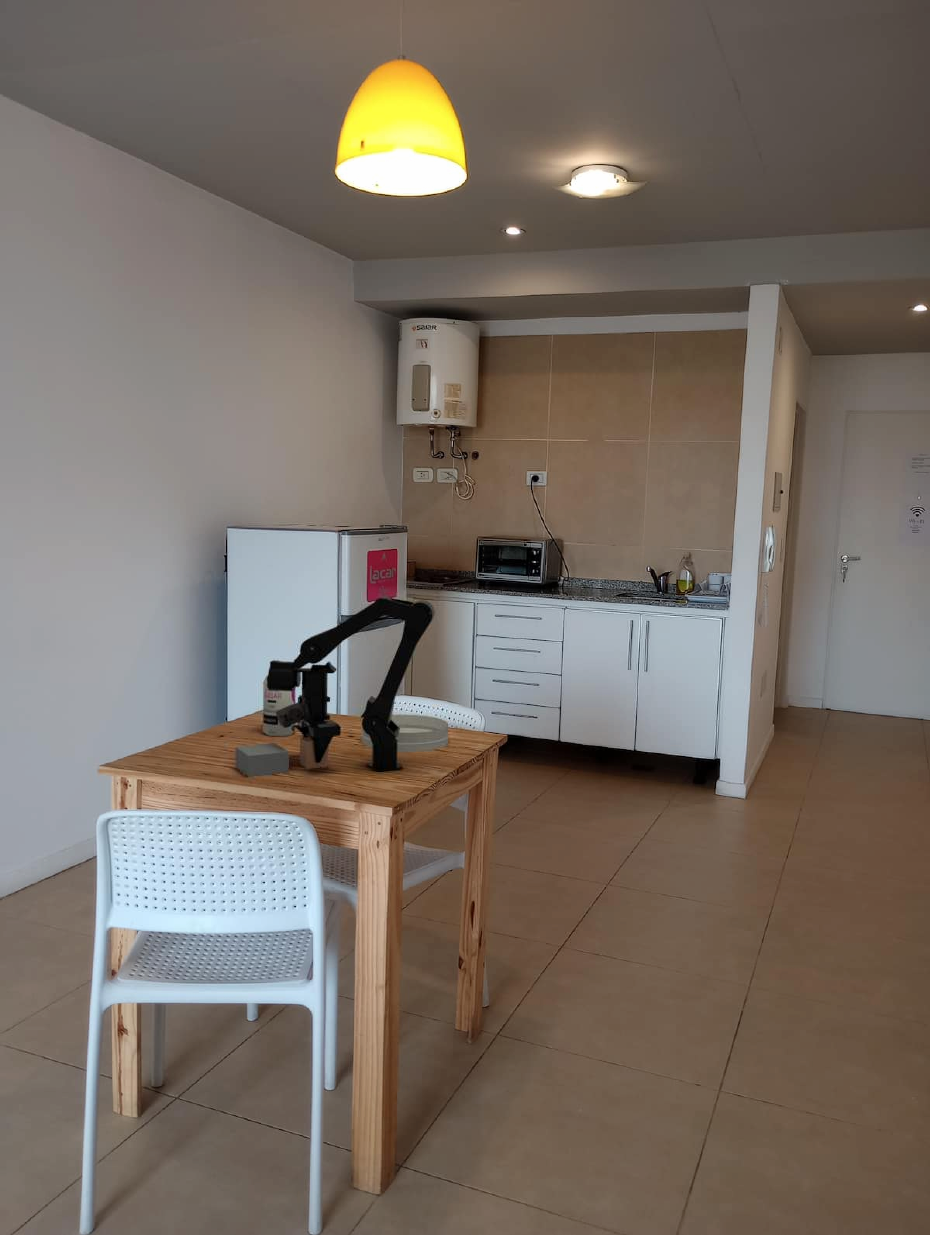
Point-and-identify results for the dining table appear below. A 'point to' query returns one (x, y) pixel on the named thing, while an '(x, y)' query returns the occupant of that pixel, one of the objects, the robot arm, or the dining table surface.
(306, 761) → the terracotta block
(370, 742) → the dish
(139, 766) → the dining table surface
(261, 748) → the grey base block
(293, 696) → the supplement can
